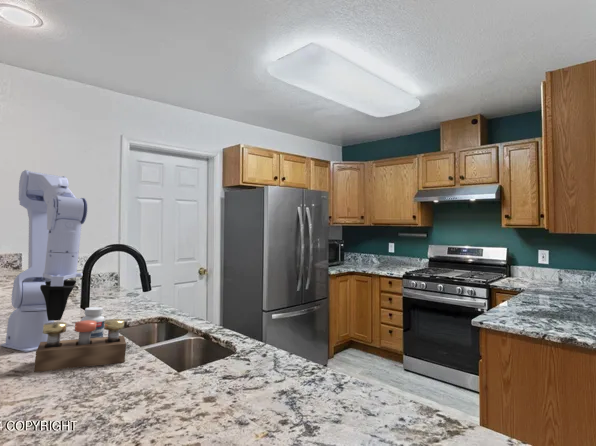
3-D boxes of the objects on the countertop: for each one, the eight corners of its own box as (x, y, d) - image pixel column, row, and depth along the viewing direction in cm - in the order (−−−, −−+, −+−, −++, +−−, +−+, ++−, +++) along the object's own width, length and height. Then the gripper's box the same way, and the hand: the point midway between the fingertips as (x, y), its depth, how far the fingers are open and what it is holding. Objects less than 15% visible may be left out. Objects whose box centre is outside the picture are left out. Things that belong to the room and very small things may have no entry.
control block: (33, 372, 67) (36, 351, 67) (38, 361, 73) (40, 342, 73) (124, 362, 75) (126, 343, 76) (122, 352, 81) (123, 335, 82)
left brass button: (39, 354, 69) (42, 326, 69) (41, 348, 72) (44, 322, 73) (63, 351, 71) (66, 325, 71) (64, 346, 74) (67, 321, 75)
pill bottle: (91, 347, 84) (94, 311, 85) (73, 345, 85) (76, 309, 86) (107, 342, 89) (110, 307, 90) (90, 339, 90) (93, 305, 91)
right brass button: (102, 348, 74) (104, 323, 75) (102, 343, 78) (104, 319, 78) (122, 346, 77) (125, 322, 77) (121, 341, 80) (123, 318, 80)
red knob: (72, 351, 72) (74, 325, 72) (73, 345, 75) (75, 321, 75) (94, 349, 74) (96, 323, 74) (94, 344, 77) (96, 319, 78)
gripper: (84, 254, 69) (77, 323, 68) (85, 251, 81) (79, 309, 80) (40, 253, 65) (32, 325, 64) (49, 250, 78) (42, 310, 77)
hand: (56, 316), depth 72 cm, fingers open, 6 cm apart
